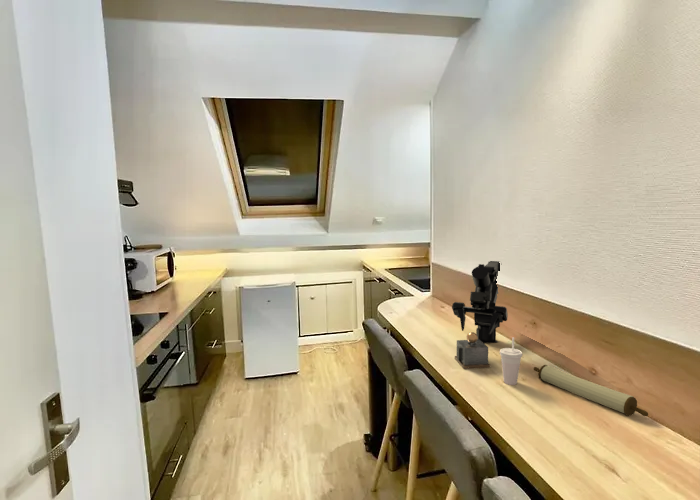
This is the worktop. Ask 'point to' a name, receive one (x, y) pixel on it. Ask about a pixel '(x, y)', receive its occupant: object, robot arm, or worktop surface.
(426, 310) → the worktop surface
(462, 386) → the worktop surface
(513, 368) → the smoothie
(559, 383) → the rolling pin
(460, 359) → the copper ball lever box
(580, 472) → the worktop surface
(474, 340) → the copper ball knob
